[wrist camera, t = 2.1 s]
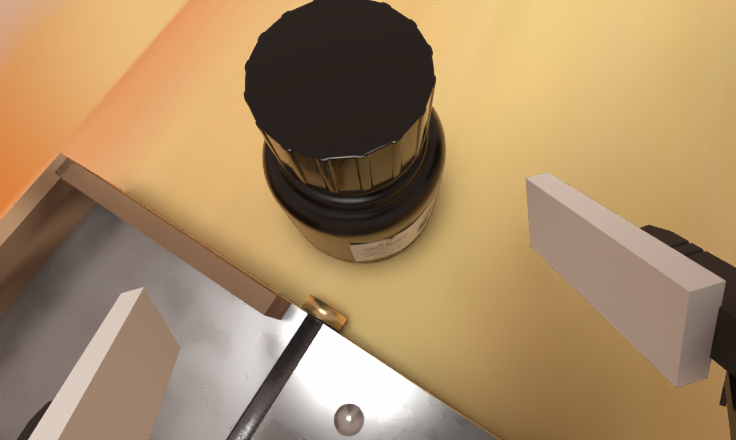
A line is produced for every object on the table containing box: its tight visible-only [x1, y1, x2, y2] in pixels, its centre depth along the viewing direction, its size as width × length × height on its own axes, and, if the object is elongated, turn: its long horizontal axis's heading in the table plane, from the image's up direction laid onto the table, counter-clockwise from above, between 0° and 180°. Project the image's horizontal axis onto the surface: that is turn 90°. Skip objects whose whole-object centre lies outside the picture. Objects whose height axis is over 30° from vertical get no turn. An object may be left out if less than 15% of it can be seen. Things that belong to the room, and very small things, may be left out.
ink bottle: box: [244, 0, 446, 262], centre depth 21 cm, size 10×9×12 cm
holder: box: [0, 153, 292, 320], centre depth 20 cm, size 16×14×3 cm
